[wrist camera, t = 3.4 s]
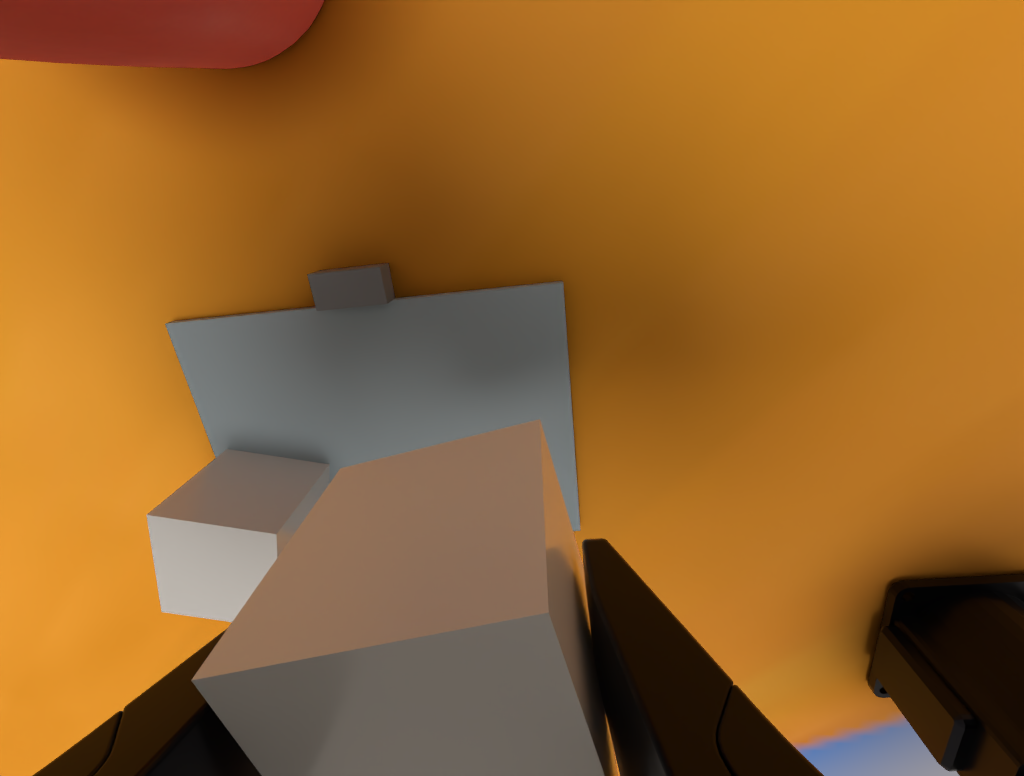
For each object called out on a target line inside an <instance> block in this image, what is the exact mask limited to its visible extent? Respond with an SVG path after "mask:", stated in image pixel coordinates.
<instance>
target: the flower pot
mask: <svg viewBox="0 0 1024 776" xmlns="http://www.w3.org/2000/svg"><path fill="white" fill-rule="evenodd" d="M323 2H324V0H0V59H13V60H27V61H41V62H54V63H72V64H92V65H114V66H137V67H173V68H214V69H231V68H241V67H247V66H251V65H256V64H259V63H261V62H264V61H267V60H269V59H271V58H273V57H274V56H276V55H278V54H280V53H281V52H283V51H284V50H286V49H287V48H288V47H290V46H291V45H292V44H294V43H295V42H296V41H297V40H298V39H299V38H300V37H301V36H302V35H303V34H304V33H305V32H306V31H307V30H308V29H309V27H310V26H311V24H312V23H313V21H314V19H315V18H316V16H317V14H318V13H319V11H320V9H321V7H322V5H323Z"/></svg>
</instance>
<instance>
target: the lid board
mask: <svg viewBox="0 0 1024 776" xmlns="http://www.w3.org/2000/svg"><path fill="white" fill-rule="evenodd" d="M307 275H308V279H309V283H310V287H311V291H312V295H313V299H314V302H315V306H314V307H305V308H295V309H285V310H276V311H266V312H256V313H247V314H237V315H227V316H218V317H208V318H198V319H189V320H179V321H172V322H169V323H166V324H165V325H166V327H167V330H168V333H169V335H170V338H171V341H172V343H173V346H174V349H175V351H176V354H177V357H178V359H179V362H180V364H181V367H182V370H183V372H184V375H185V378H186V380H187V383H188V386H189V388H190V391H191V394H192V396H193V399H194V401H195V404H196V407H197V409H198V412H199V415H200V417H201V420H202V423H203V425H204V428H205V431H206V433H207V436H208V438H209V441H210V444H211V446H212V449H213V452H214V454H215V457H216V458H217V457H218V456H219V455H220V454H221V453H223V452H224V451H225V450H226V449H231V450H238V451H244V452H251V453H257V454H264V455H271V456H277V457H284V458H290V459H297V460H303V461H310V462H316V463H323V464H330V465H329V484H330V482H331V481H332V480H333V478H334V477H335V475H336V474H337V472H338V471H339V470H340V468H344V467H348V466H352V465H356V464H360V463H364V462H368V461H372V460H376V459H380V458H384V457H389V456H393V455H397V454H401V453H405V452H409V451H413V450H417V449H421V448H425V447H429V446H433V445H437V444H441V443H445V442H449V441H453V440H458V439H462V438H466V437H470V436H474V435H478V434H482V433H486V432H490V431H494V430H498V429H502V428H506V427H510V426H514V425H518V424H522V423H527V422H531V421H535V420H539V419H540V421H541V425H542V428H543V431H544V435H545V438H546V441H547V445H548V448H549V452H550V455H551V458H552V462H553V465H554V469H555V472H556V475H557V479H558V482H559V485H560V489H561V492H562V496H563V499H564V502H565V506H566V509H567V512H568V516H569V519H570V523H571V526H572V529H573V531H580V518H579V503H578V489H577V474H576V460H575V445H574V431H573V416H572V402H571V387H570V373H569V358H568V344H567V329H566V315H565V300H564V286H563V281H556V282H546V283H537V284H527V285H517V286H508V287H498V288H488V289H479V290H469V291H459V292H450V293H440V294H430V295H421V296H411V297H401V298H395V294H394V289H393V284H392V279H391V274H390V269H389V263H382V264H373V265H364V266H355V267H346V268H337V269H327V270H319V271H316V272H313V273H310V274H307Z"/></svg>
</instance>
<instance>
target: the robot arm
mask: <svg viewBox="0 0 1024 776" xmlns="http://www.w3.org/2000/svg"><path fill="white" fill-rule="evenodd" d="M582 549H583V563H584V578H585V588H586V596H587V604H588V612H589V621H590V629H591V637H592V644H593V651H594V658H595V664H596V670H597V675H598V680H599V685H600V690H601V695H602V700H603V704H604V709H605V714H606V718H607V722H608V726H609V730H610V734H611V739H612V743H613V747H614V751H615V755H616V759H617V764H618V768H619V772H620V776H824V775H823V774H822V773H821V772H820V771H819V770H817V769H816V768H815V767H814V766H813V765H812V764H811V763H810V762H809V761H808V760H807V759H806V758H805V757H804V756H803V755H802V754H801V753H800V752H799V751H798V750H797V749H796V748H795V747H794V746H793V745H792V744H791V743H790V742H789V741H788V740H787V739H786V738H785V737H784V736H783V735H782V734H781V733H780V732H779V731H778V730H777V729H776V728H775V726H774V725H773V724H772V723H771V722H770V721H769V720H768V719H767V718H766V717H765V716H764V715H763V714H762V713H761V712H760V711H759V709H758V708H757V707H756V706H755V705H754V704H753V703H752V702H751V701H750V699H749V698H748V697H747V696H746V695H745V694H744V693H743V692H742V690H741V689H740V688H739V687H738V686H737V685H733V681H732V680H731V678H730V677H729V676H728V675H727V674H726V673H725V672H724V671H723V669H722V668H721V667H720V666H719V665H718V664H717V663H716V662H715V661H714V659H713V658H712V657H711V656H710V655H709V654H708V653H707V652H706V650H705V649H704V648H703V647H702V646H701V645H700V644H699V643H698V642H697V640H696V639H695V638H694V637H693V636H692V635H691V634H690V633H689V632H688V630H687V629H686V628H685V627H684V626H683V625H682V624H681V623H680V621H679V620H678V619H677V618H676V617H675V616H674V615H673V614H672V613H671V611H670V610H669V609H668V608H667V607H666V606H665V605H664V604H663V602H662V601H661V600H660V599H659V598H658V597H657V596H656V595H655V594H654V592H653V591H652V590H651V589H650V588H649V587H648V586H647V585H646V583H645V582H644V581H643V580H642V579H641V578H640V577H639V576H638V575H637V573H636V572H635V571H634V570H633V569H632V568H631V567H630V566H629V564H628V563H627V562H626V561H625V560H624V559H623V558H622V557H621V556H620V554H619V553H618V552H617V551H616V550H615V549H614V548H613V547H612V546H611V544H610V543H609V542H608V541H607V540H606V539H602V538H601V539H586V540H584V541H583V543H582ZM227 629H228V628H227ZM227 629H226V630H227ZM226 630H225V631H223V632H222V633H221V634H219V635H218V636H217V637H215V638H214V639H213V640H212V641H210V642H209V643H208V644H206V645H205V646H204V647H202V648H201V649H200V650H198V651H197V652H196V653H195V654H193V655H192V656H191V657H189V658H188V659H187V660H185V661H184V662H183V663H181V664H180V665H179V666H177V667H176V668H175V669H174V670H172V671H171V672H170V673H168V674H167V675H166V676H164V677H163V678H162V679H160V680H159V681H158V682H157V683H155V684H154V685H153V686H151V687H150V688H149V689H147V690H146V691H145V692H143V693H142V694H141V695H140V696H138V697H137V698H136V699H134V700H133V701H132V702H130V703H129V704H128V705H126V706H125V708H124V710H123V711H119V712H117V713H116V714H115V715H113V716H112V717H111V718H109V719H108V720H107V721H105V722H104V723H103V724H102V725H100V726H99V727H98V728H96V729H95V730H94V731H92V732H91V733H90V734H88V735H87V736H86V737H84V738H83V739H82V740H80V741H79V742H78V743H76V744H75V745H74V746H72V747H71V748H70V749H68V750H67V751H66V752H64V753H63V754H62V755H60V756H59V757H58V758H56V759H55V760H54V761H52V762H51V763H50V764H48V765H47V766H45V767H44V768H43V769H41V770H40V771H38V772H37V773H36V774H34V775H33V776H262V775H261V774H260V773H259V771H258V770H257V769H256V767H255V766H254V765H253V763H252V762H251V761H250V759H249V758H248V757H247V755H246V754H245V752H244V751H243V750H242V748H241V747H240V746H239V744H238V743H237V742H236V740H235V739H234V738H233V736H232V735H231V734H230V732H229V731H228V730H227V728H226V727H225V725H224V724H223V723H222V721H221V720H220V719H219V717H218V716H217V715H216V713H215V712H214V711H213V709H212V708H211V707H210V705H209V704H208V703H207V701H206V700H205V698H204V697H203V696H202V694H201V693H200V692H199V690H198V689H197V688H196V686H195V685H194V684H193V682H192V681H191V680H192V679H193V677H194V676H195V674H196V673H197V671H198V670H199V669H200V667H201V666H202V664H203V663H204V661H205V660H206V659H207V657H208V656H209V654H210V653H211V652H212V650H213V649H214V647H215V646H216V644H217V643H218V642H219V640H220V639H221V637H222V636H223V634H224V633H225V632H226ZM868 685H869V687H870V688H871V690H872V691H873V693H874V694H875V695H876V696H878V697H882V698H886V697H891V698H892V700H893V701H894V703H895V704H896V705H897V707H898V708H899V710H900V711H901V712H902V714H903V715H904V716H905V718H906V719H907V721H908V722H909V723H910V725H911V726H912V728H913V729H914V730H915V732H916V733H917V734H918V736H919V737H920V738H921V740H922V741H923V743H924V744H925V745H926V747H927V748H928V749H929V751H930V752H931V754H932V755H933V757H934V758H935V759H936V761H937V762H938V763H939V764H940V765H941V766H942V767H943V768H945V769H946V770H948V771H957V773H958V774H959V775H960V776H1024V574H1010V575H992V576H974V577H956V578H937V579H919V580H903V581H898V582H896V583H894V584H893V585H892V586H891V587H890V589H889V592H888V596H887V601H886V605H885V610H884V614H883V618H882V623H881V627H880V632H879V636H878V640H877V645H876V649H875V654H874V658H873V663H872V667H871V671H870V676H869V680H868Z"/></svg>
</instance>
